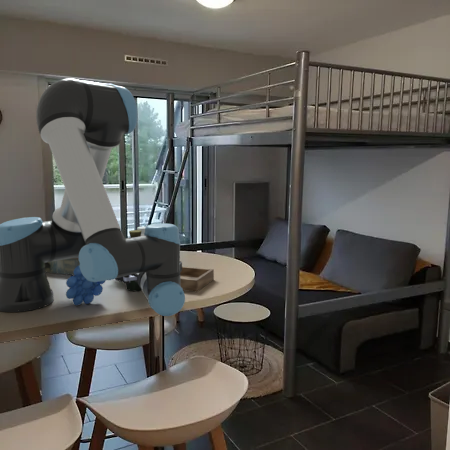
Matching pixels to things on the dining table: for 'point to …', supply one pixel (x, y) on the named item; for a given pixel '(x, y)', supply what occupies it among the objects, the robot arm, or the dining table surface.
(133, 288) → the potion bottle
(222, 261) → the dining table surface
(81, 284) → the grapes
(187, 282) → the walnut tray
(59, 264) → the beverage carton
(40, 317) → the dining table surface
